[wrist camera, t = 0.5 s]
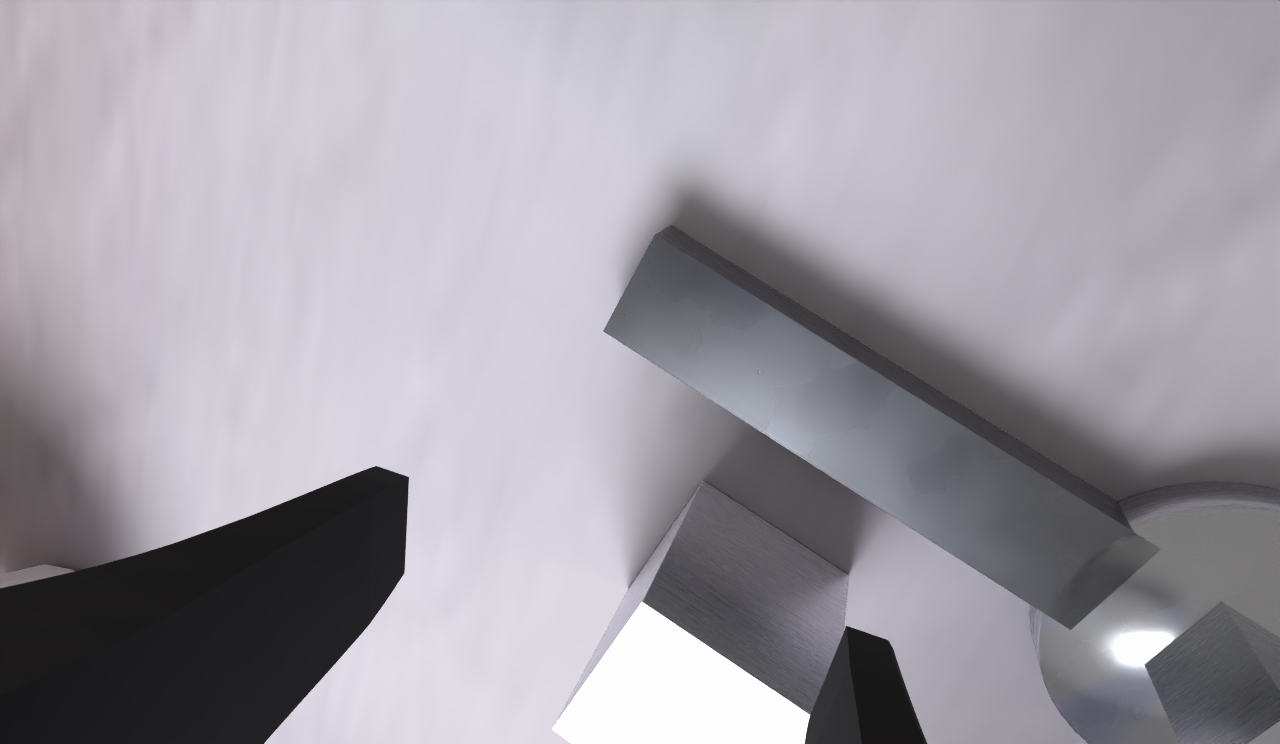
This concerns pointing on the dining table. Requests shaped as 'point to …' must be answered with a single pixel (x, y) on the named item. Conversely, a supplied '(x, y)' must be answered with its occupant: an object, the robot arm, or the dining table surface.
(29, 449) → the dining table surface
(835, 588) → the brushed metal cube
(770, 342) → the ratchet
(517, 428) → the dining table surface
